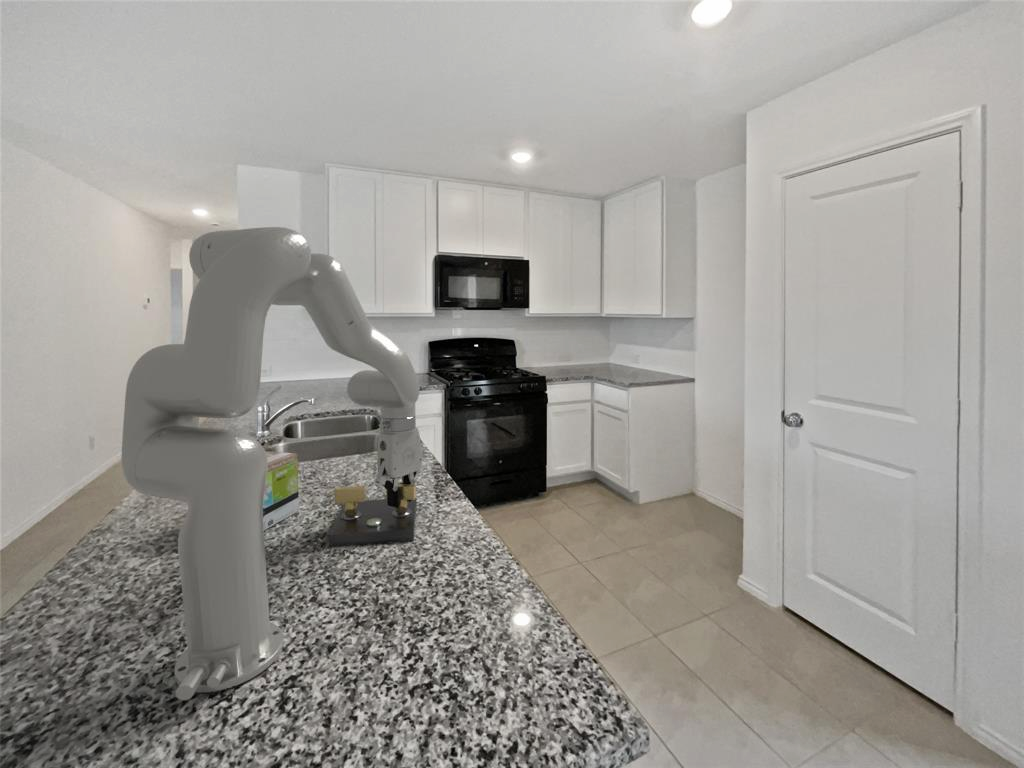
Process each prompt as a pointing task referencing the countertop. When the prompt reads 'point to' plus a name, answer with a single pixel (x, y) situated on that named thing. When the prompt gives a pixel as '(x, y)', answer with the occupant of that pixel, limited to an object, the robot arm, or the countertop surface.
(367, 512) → the base
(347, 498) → the knob
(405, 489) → the knob
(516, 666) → the countertop surface
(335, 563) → the countertop surface
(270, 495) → the tea box
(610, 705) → the countertop surface
